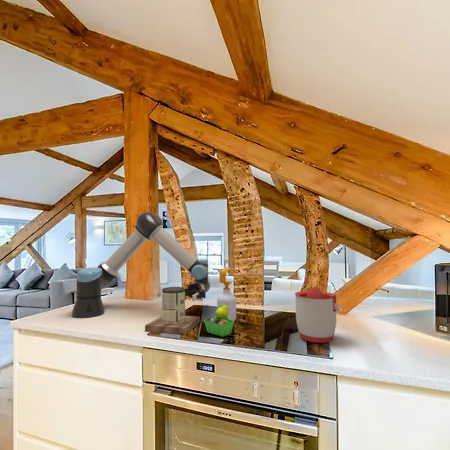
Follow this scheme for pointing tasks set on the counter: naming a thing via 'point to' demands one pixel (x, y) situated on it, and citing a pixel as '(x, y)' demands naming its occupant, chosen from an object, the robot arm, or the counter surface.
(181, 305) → the coffee can
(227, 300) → the soap bottle
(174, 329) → the walnut trivet board
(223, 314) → the fruit basket
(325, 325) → the citrus juicer
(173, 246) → the robot arm
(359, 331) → the counter surface
